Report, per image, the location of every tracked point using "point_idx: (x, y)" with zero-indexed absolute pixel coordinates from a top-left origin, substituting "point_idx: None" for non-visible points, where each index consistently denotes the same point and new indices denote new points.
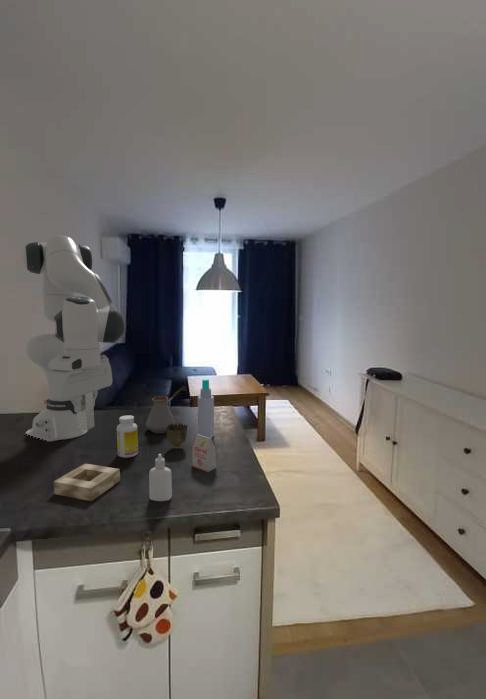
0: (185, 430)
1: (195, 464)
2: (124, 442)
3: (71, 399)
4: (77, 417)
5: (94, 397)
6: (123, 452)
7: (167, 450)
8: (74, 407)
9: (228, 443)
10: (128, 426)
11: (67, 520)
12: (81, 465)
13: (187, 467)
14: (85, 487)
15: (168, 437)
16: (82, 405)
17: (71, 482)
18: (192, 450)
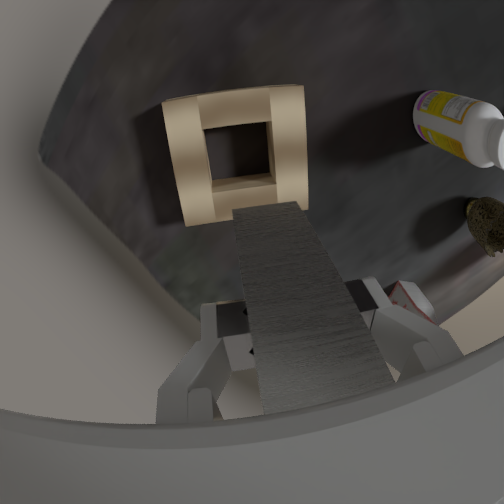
0: (490, 252)
1: (396, 293)
2: (440, 133)
3: (162, 404)
4: (238, 249)
5: (388, 362)
6: (420, 122)
7: (460, 193)
8: (201, 327)
9: (482, 276)
10: (481, 155)
11: (113, 227)
12: (286, 87)
13: (392, 277)
14: (182, 210)
15: (479, 213)
16: (243, 366)
17: (182, 154)
18: (413, 305)
